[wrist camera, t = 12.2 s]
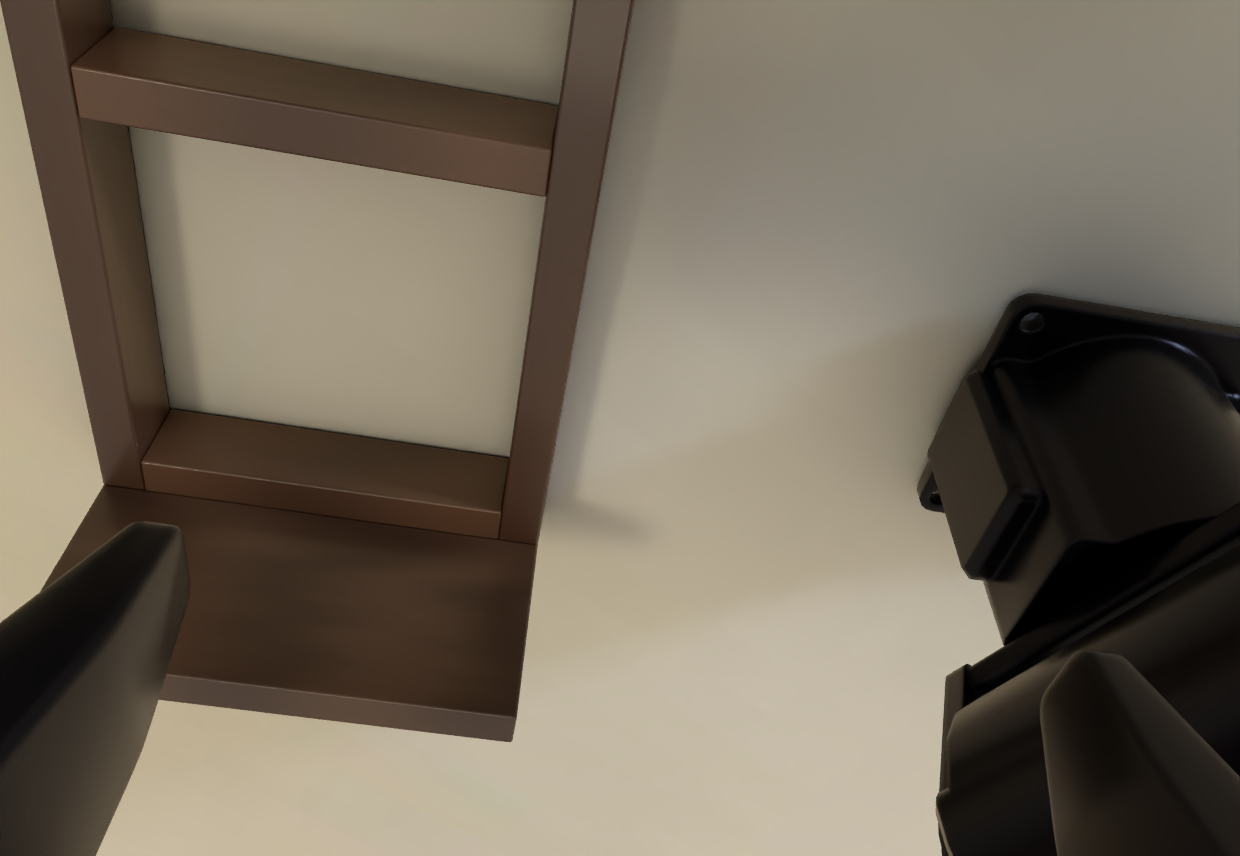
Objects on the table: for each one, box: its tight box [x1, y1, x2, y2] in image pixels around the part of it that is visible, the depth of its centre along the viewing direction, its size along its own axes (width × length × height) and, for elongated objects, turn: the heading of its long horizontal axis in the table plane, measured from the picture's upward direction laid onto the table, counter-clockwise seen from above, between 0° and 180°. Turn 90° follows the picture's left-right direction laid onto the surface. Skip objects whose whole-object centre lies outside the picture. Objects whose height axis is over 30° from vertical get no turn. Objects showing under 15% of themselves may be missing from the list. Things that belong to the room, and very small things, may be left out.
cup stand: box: [0, 0, 634, 742], centre depth 18 cm, size 11×21×7 cm, turn 170°
